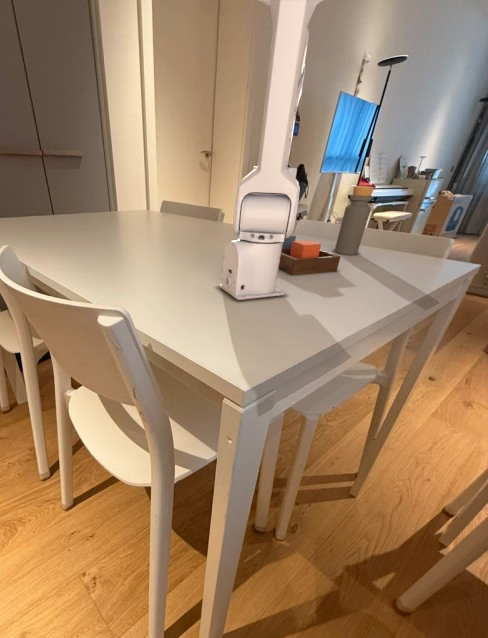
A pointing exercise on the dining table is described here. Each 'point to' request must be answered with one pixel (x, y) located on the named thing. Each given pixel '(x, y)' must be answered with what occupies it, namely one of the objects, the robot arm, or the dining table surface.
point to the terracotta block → (305, 249)
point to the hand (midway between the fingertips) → (267, 215)
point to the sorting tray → (308, 263)
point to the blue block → (288, 241)
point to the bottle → (354, 221)
